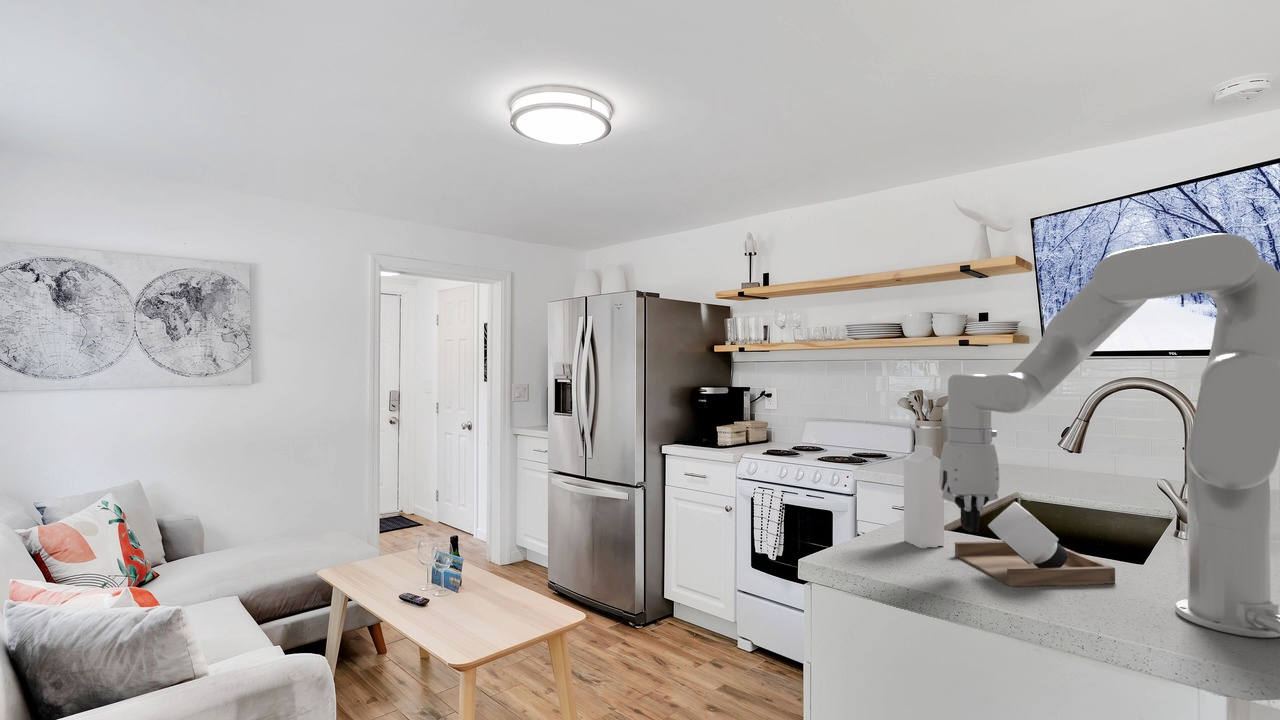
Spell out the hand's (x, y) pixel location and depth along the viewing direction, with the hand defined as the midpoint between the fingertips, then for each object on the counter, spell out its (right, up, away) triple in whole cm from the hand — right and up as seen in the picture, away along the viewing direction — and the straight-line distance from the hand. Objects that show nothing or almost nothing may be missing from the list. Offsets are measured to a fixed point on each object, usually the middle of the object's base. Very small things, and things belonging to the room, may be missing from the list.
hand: (970, 529), depth 123 cm
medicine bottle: (+6, +3, -3) cm, 7 cm away
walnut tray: (+12, -8, +1) cm, 15 cm away
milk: (-1, -8, +18) cm, 20 cm away
